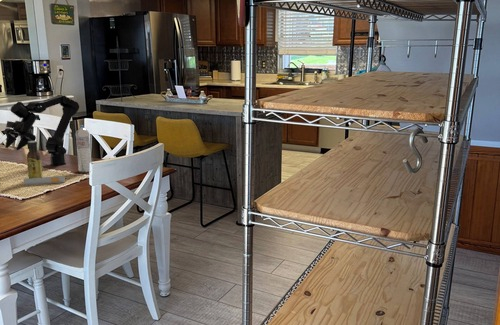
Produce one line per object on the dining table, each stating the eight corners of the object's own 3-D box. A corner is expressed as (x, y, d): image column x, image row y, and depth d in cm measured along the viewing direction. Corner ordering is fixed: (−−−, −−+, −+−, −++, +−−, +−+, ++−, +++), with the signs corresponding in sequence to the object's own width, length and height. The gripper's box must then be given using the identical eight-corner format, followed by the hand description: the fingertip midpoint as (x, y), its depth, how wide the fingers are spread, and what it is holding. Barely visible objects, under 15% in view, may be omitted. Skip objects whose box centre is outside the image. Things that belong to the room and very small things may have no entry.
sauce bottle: (26, 181, 219) (21, 141, 214) (36, 178, 224) (32, 139, 220) (35, 183, 216) (30, 143, 212) (45, 179, 222) (41, 140, 217)
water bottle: (75, 171, 237) (71, 125, 231) (85, 168, 243) (82, 123, 237) (84, 173, 234) (81, 126, 228) (94, 170, 240) (91, 124, 234)
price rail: (24, 185, 212) (23, 179, 211) (24, 185, 213) (23, 178, 212) (64, 182, 217) (63, 176, 216) (64, 182, 218) (64, 175, 217)
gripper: (3, 113, 229) (-13, 138, 223) (26, 116, 220) (9, 143, 214) (20, 124, 238) (5, 149, 232) (42, 127, 229) (27, 154, 223)
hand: (11, 148), depth 225 cm, fingers open, 9 cm apart
